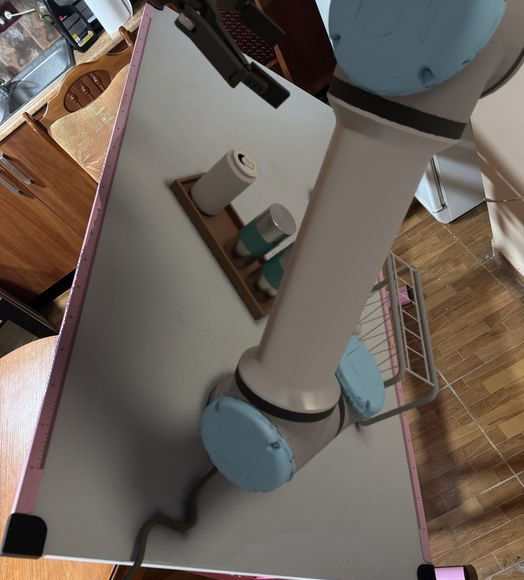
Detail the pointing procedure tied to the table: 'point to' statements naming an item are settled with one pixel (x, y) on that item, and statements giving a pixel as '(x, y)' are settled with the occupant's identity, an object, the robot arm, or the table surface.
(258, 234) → the tray can
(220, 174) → the beverage can
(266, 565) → the table surface
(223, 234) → the can tray
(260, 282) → the tray can
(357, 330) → the newton's cradle
